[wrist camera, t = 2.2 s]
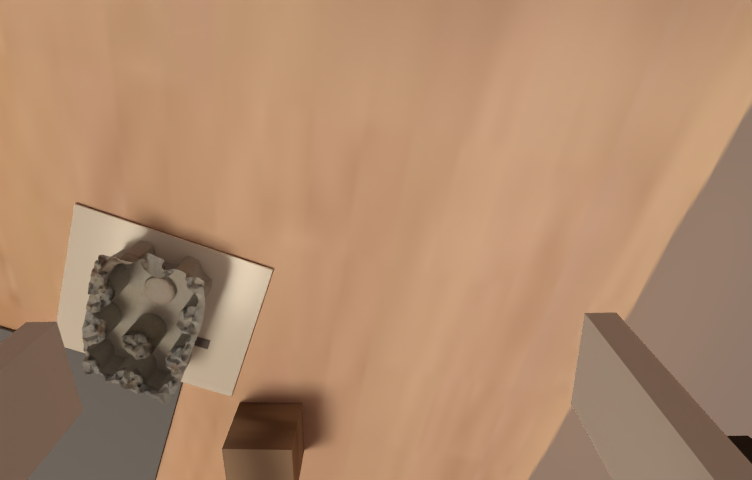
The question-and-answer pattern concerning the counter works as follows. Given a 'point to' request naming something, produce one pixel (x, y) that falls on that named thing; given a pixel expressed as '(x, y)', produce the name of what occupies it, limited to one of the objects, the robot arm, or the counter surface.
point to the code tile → (228, 273)
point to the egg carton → (143, 320)
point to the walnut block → (265, 442)
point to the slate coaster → (107, 431)
